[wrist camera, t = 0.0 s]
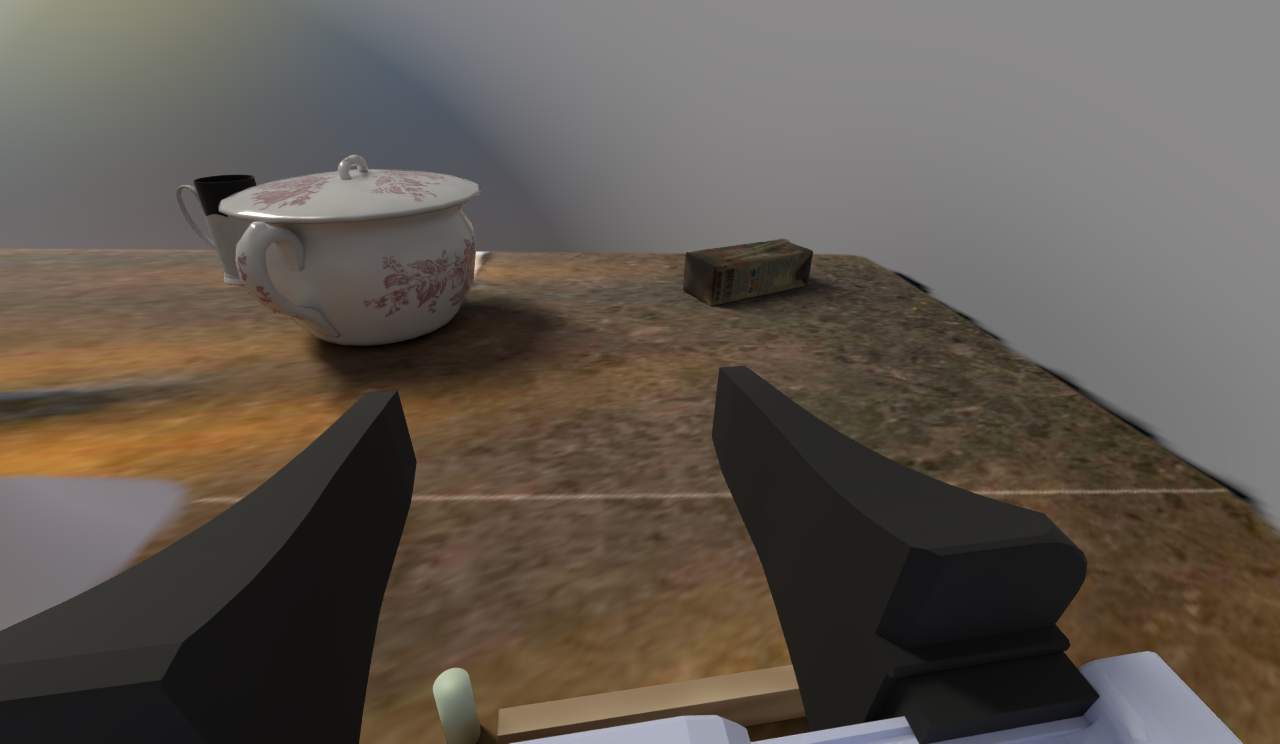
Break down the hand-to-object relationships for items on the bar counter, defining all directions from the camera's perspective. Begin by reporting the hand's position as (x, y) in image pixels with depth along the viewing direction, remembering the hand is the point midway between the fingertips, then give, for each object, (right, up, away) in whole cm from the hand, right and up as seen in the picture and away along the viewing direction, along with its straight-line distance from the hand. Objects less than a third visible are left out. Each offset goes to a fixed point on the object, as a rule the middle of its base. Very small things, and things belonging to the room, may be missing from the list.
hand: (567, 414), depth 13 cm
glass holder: (-63, +17, +77) cm, 101 cm away
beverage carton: (+18, +13, +73) cm, 76 cm away
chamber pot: (-31, +7, +59) cm, 67 cm away
